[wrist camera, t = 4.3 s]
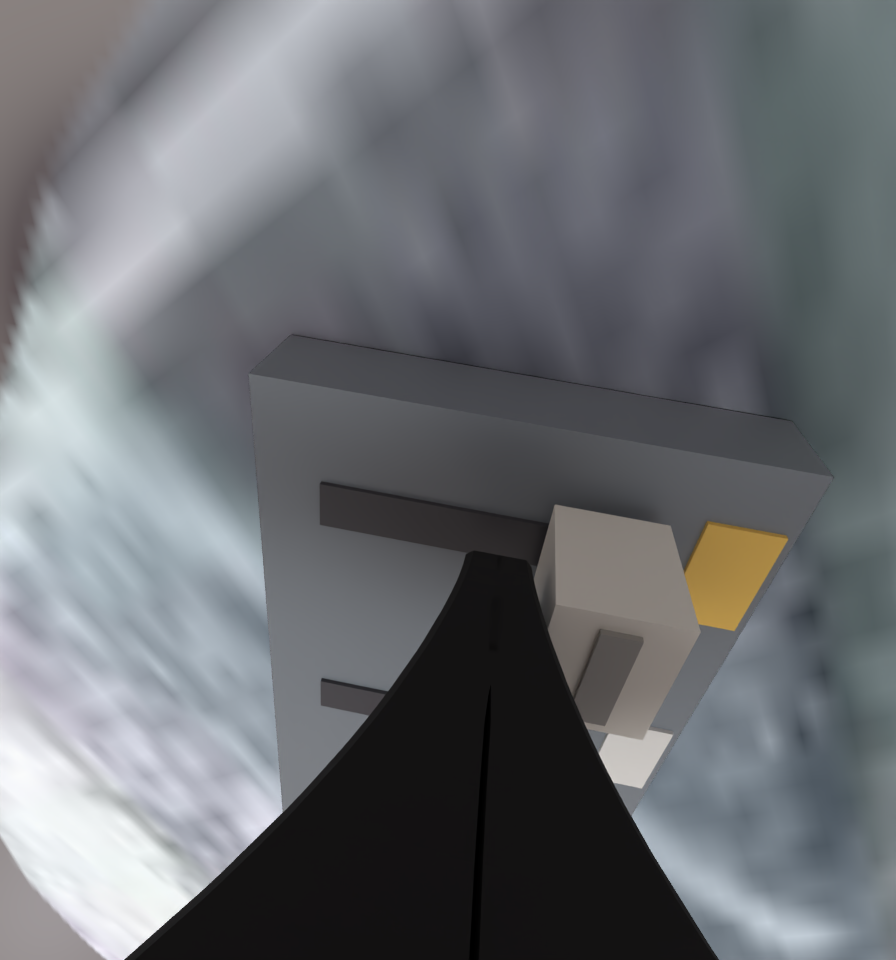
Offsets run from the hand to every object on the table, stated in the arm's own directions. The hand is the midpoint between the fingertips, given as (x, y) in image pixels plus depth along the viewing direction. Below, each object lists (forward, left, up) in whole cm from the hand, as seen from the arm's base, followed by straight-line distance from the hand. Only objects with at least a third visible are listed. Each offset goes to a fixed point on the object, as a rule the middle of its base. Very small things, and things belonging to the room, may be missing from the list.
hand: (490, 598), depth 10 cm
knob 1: (-2, 0, -1) cm, 2 cm away
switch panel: (0, +6, -4) cm, 7 cm away
